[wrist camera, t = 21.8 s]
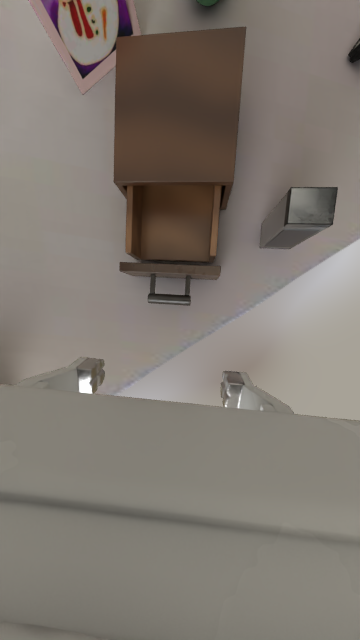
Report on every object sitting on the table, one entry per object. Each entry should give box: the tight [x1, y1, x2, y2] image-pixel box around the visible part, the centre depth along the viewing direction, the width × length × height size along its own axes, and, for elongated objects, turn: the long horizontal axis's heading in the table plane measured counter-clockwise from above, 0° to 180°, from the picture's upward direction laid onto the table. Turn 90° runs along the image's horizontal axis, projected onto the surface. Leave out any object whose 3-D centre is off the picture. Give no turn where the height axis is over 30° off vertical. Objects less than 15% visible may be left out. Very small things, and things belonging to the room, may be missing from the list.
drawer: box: [120, 185, 221, 306], centre depth 27 cm, size 19×13×5 cm
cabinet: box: [114, 27, 246, 210], centre depth 26 cm, size 16×15×7 cm
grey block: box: [260, 187, 338, 249], centre depth 24 cm, size 4×4×10 cm
